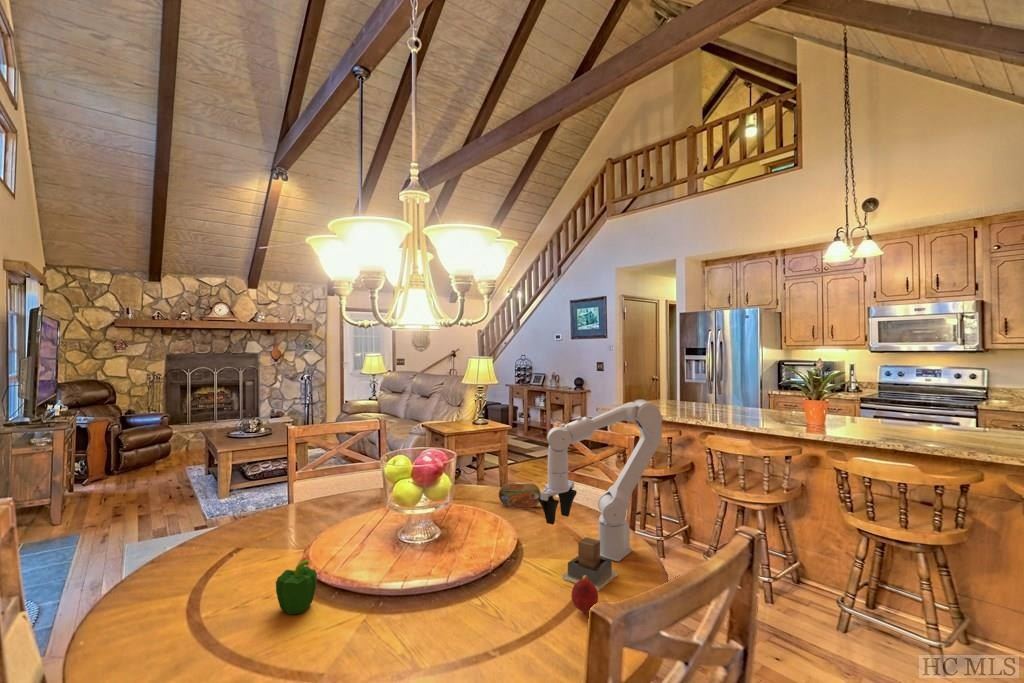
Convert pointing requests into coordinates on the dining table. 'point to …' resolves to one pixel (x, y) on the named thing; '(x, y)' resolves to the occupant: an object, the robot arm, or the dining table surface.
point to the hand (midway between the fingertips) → (557, 519)
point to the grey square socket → (591, 572)
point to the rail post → (589, 552)
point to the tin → (519, 495)
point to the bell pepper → (296, 588)
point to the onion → (584, 594)
